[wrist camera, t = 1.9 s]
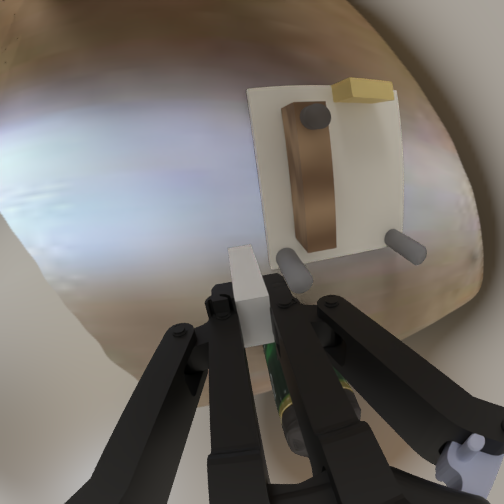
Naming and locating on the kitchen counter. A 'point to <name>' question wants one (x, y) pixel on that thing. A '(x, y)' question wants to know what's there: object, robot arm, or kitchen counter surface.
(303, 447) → the coffee jar
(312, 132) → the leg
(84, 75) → the kitchen counter surface
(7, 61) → the kitchen counter surface
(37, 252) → the kitchen counter surface
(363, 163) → the white board with blocks
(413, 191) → the kitchen counter surface
